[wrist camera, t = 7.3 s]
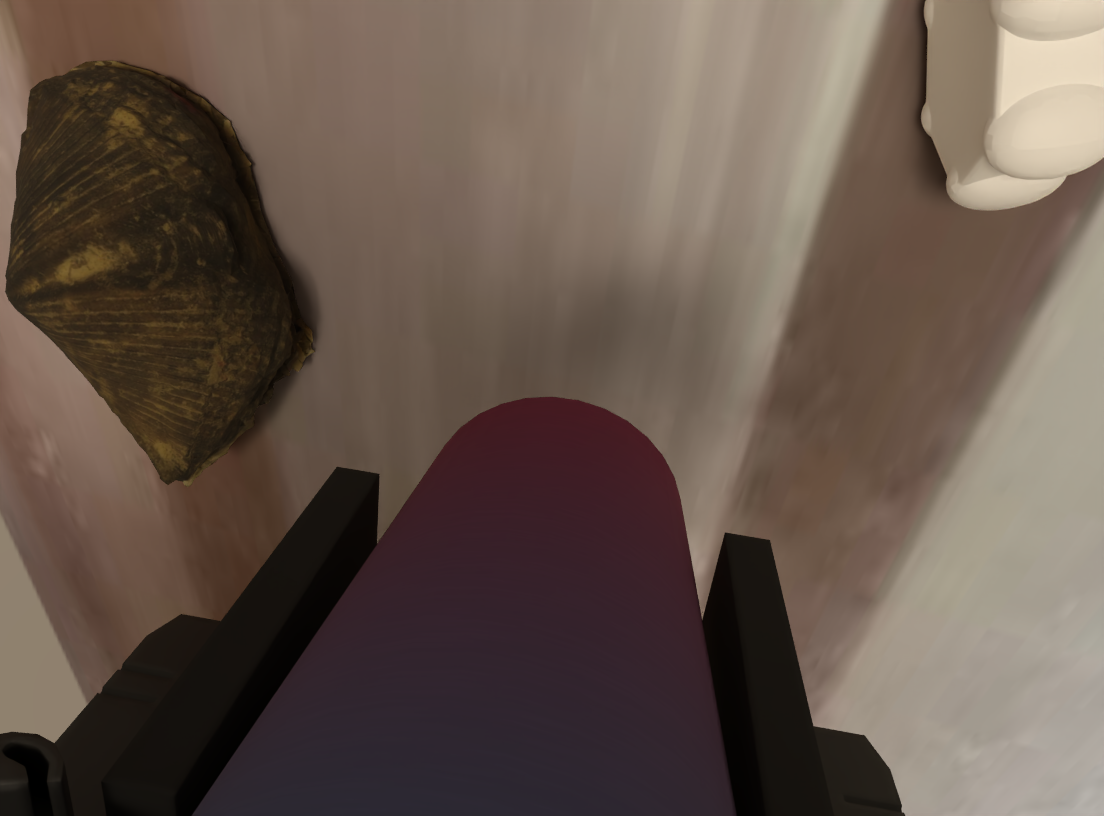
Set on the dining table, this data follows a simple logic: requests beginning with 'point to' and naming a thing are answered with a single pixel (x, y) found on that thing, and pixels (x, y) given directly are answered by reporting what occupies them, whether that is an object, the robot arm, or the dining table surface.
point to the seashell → (151, 260)
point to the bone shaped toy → (1014, 96)
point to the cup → (506, 645)
